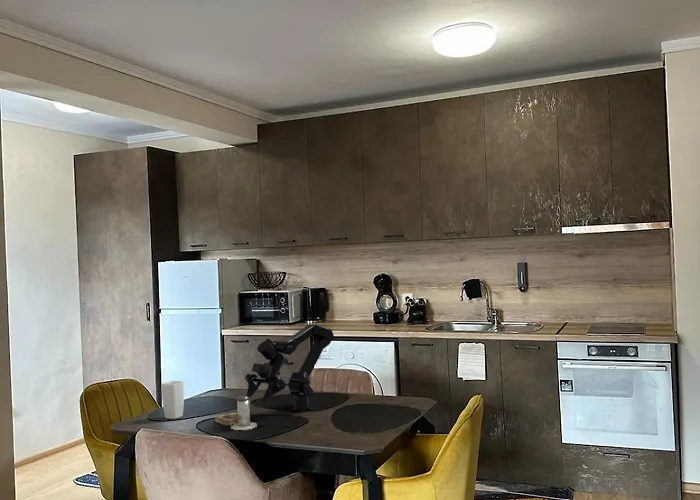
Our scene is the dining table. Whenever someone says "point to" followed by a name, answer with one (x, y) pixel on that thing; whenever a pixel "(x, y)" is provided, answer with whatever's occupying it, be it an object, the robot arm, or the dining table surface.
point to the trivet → (236, 427)
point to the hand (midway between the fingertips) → (255, 399)
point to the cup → (173, 399)
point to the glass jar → (243, 411)
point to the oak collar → (227, 419)
